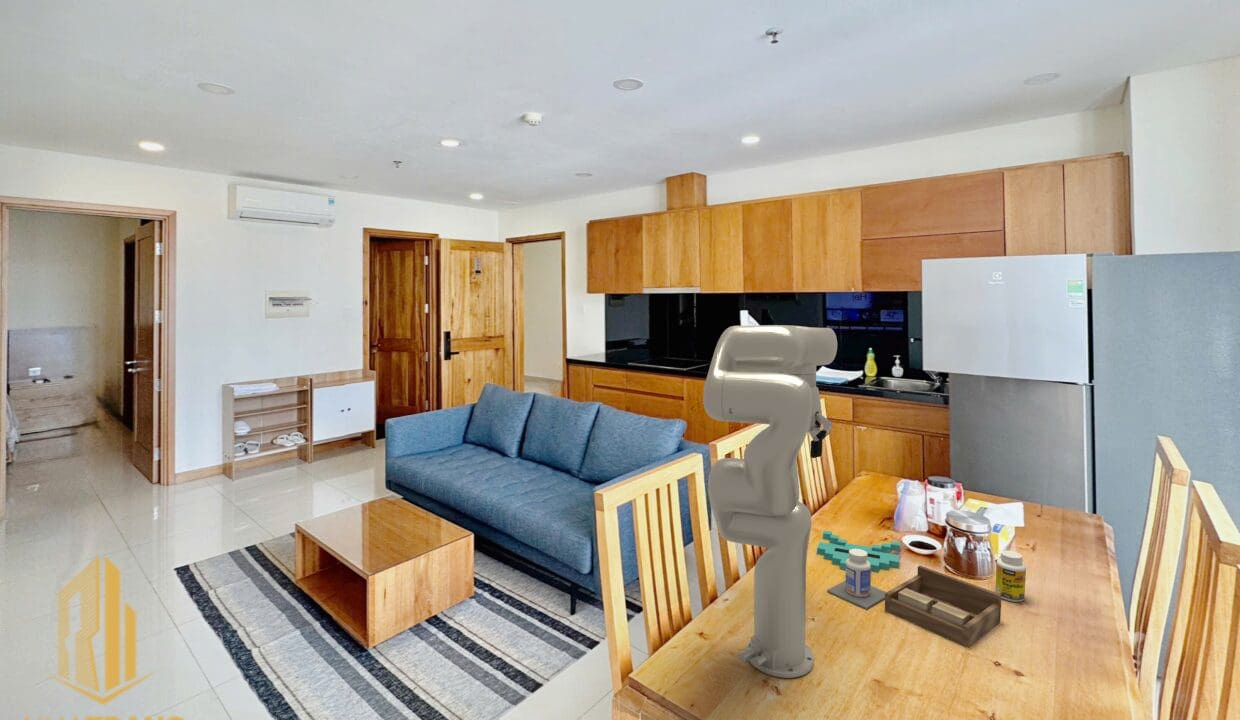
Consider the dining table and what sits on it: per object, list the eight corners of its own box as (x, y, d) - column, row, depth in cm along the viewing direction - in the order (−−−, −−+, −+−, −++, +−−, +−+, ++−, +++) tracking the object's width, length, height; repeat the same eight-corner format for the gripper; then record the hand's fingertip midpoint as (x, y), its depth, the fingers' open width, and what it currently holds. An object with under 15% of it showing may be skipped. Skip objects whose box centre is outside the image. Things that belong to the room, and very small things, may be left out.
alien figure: (823, 537, 164) (813, 565, 146) (824, 530, 164) (813, 557, 146) (899, 550, 155) (897, 581, 137) (900, 542, 154) (898, 573, 137)
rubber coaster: (866, 610, 124) (866, 607, 124) (827, 591, 132) (827, 589, 132) (890, 596, 129) (890, 593, 129) (851, 579, 138) (851, 577, 138)
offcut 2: (962, 639, 112) (962, 618, 112) (931, 626, 117) (932, 606, 117) (968, 634, 114) (969, 613, 114) (938, 621, 119) (939, 601, 118)
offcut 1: (925, 623, 118) (926, 603, 118) (897, 611, 123) (898, 592, 123) (932, 619, 120) (933, 599, 119) (905, 607, 125) (905, 588, 124)
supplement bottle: (998, 600, 127) (999, 557, 126) (992, 589, 132) (994, 547, 131) (1027, 605, 124) (1029, 561, 123) (1021, 593, 129) (1022, 550, 129)
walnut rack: (967, 647, 110) (968, 618, 109) (884, 610, 123) (885, 584, 123) (1000, 621, 118) (1001, 594, 118) (919, 589, 132) (919, 565, 131)
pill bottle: (869, 588, 132) (870, 548, 131) (871, 599, 127) (871, 558, 126) (845, 584, 134) (845, 545, 133) (845, 595, 129) (846, 555, 128)
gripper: (759, 378, 135) (759, 448, 136) (821, 386, 120) (820, 463, 122) (779, 376, 139) (779, 443, 140) (841, 382, 125) (840, 457, 126)
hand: (798, 452), depth 131 cm, fingers open, 9 cm apart
